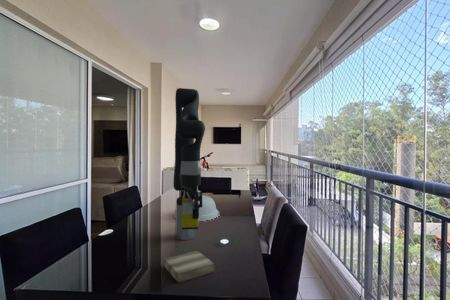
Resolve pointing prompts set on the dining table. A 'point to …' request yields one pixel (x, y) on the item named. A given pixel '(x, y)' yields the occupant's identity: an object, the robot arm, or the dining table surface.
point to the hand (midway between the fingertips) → (190, 216)
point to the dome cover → (207, 209)
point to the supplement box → (188, 215)
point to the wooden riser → (188, 266)
